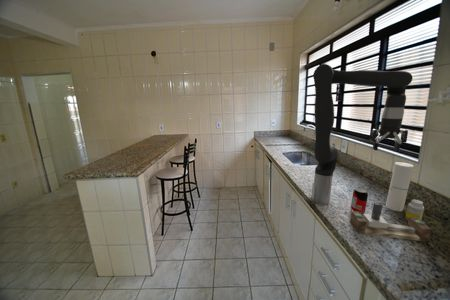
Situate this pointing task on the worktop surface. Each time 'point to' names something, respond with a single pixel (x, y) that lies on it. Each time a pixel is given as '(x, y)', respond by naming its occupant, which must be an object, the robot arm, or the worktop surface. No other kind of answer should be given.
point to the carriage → (376, 217)
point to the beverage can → (359, 200)
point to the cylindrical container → (399, 186)
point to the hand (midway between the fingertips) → (385, 150)
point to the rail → (393, 234)
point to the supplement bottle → (415, 209)
